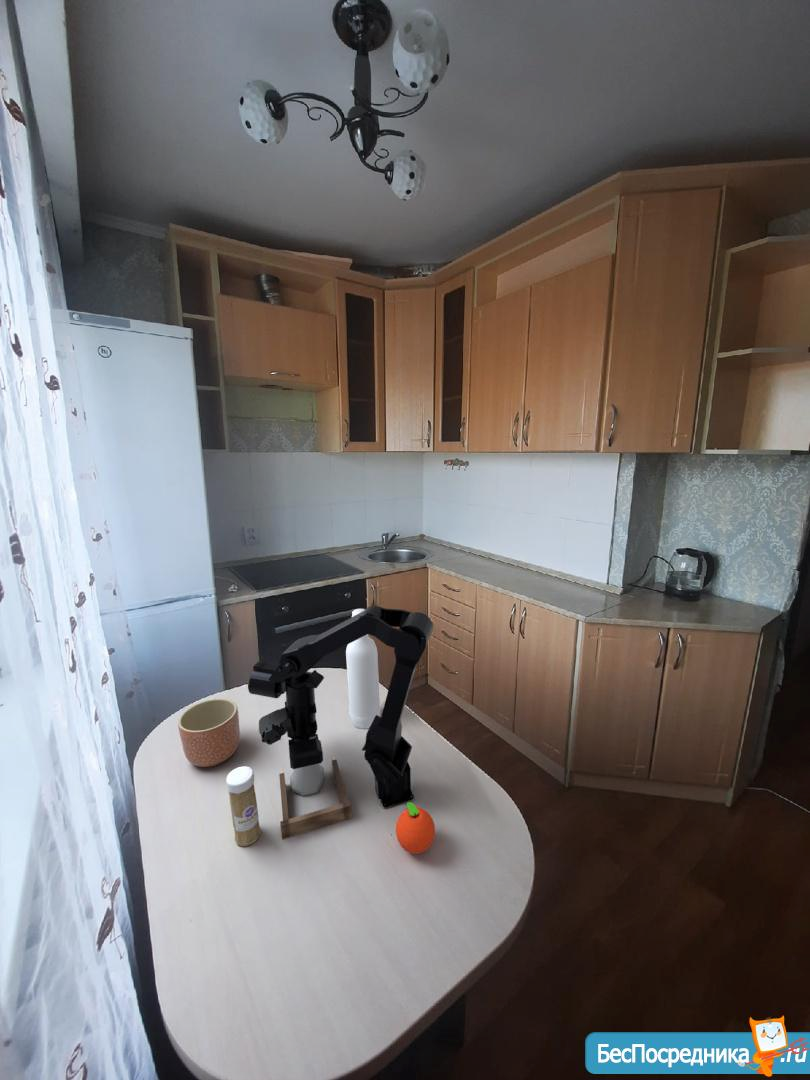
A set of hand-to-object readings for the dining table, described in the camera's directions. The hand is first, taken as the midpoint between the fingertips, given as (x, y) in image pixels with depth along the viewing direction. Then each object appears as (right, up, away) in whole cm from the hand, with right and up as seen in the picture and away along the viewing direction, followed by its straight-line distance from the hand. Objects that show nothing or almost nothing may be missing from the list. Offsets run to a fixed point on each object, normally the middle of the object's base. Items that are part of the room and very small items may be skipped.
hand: (304, 762), depth 93 cm
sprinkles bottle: (-7, -7, -13) cm, 17 cm away
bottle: (+11, +1, +18) cm, 22 cm away
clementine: (+23, -7, -16) cm, 29 cm away
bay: (+3, -5, -6) cm, 8 cm away
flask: (+1, -3, -2) cm, 4 cm away
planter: (-23, -2, +7) cm, 24 cm away
